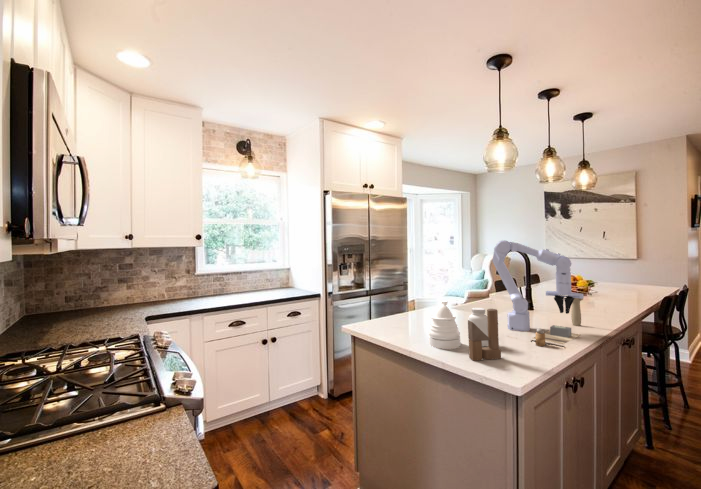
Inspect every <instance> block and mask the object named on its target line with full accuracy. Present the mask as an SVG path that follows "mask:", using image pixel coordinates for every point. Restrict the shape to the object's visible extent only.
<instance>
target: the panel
mask: <svg viewBox="0 0 701 489" xmlns="http://www.w3.org/2000/svg"><path fill="white" fill-rule="evenodd" d="M544 333H545V345H549V346H550V345H551V346H554V347H555V346H556V347H561V348H565V347H566V346H565V344H566V343H569V342H571V341H573V340H574V339H576V338H578V337H580V336H581V334H580V333H579V334H578V333H573V332H571V333H572V336H571V337H569V338H567V337H561V336H554V335H550V330H548V331H546V332H544ZM531 342H535V343H536V336H533V337H532V339H531Z"/></svg>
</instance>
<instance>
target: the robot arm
mask: <svg viewBox="0 0 701 489" xmlns="http://www.w3.org/2000/svg"><path fill="white" fill-rule="evenodd" d="M509 252H513V253H514V252H520V253H523V254H526V255H529V256H532V257H535V258H536V259H537V261H538V262H541V263H544V264H546V265H550V266H555V267H556V268H555V270H556V272H555V285H556V286H555V287H556V288H555V291H554V290H546V291H545V296H547V297H548V296H549V297H553V299H554V301H555V303H556V305H557V307H558V309H559V313H560V314H563V313H565V314H567V315H568V314H570V310H571V308H572V302H573V301H574V298H580V299H582V298H583V299H584V293H580V292H579V293H578V292H572V272H571V266H572V261H571V259H570V258H569V257H567V256H566V255H563V254H562V255H561V253H556V252H553V251H550V249H549V248H546V249H543V248H542V249H539V250H537V249H535V248H532V247H530V246H527V245H525V244H522V243H518V242H514V241H508V240H503V239H502V240H499V241H497V243H496V244H495V246H494V248H493V255H492V263H493V265H494V268H495V269H496V271H497V273H498V276H499V277H500V279H501V281H502V284H503V285H504V287H505V289H506V290H507V293H508V295H509V297H510V300H511V302H512V308H513V310H512V311H511V312H507V330H509V331H521V332H529V331H530V330H531V324H530V323H531V322H530V321H531V319H530V311H529V302H528V300H527V299H526V298H525V297H524V296H523V295H522V293H521V291H520V290H519V288H518V286H517V285H516V284H517V283H515V280H514V278H513V277H512V275H511V272H510V271H509V269H508V266H507V265H506V263H505V259H506V257H507V255H508V254H509ZM564 306H565V307H564ZM564 309H565V310H564Z"/></svg>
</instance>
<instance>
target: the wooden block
mask: <svg viewBox="0 0 701 489" xmlns="http://www.w3.org/2000/svg"><path fill="white" fill-rule="evenodd" d="M498 311H499V310H498V309H497V308H487V309H486V316H487V322H488V336H487V335H485V334H484V333H483V332H482V331H481V330H480V329H479V328H478V327H477V326H476V325H475V324H474V323H473V322H471V321H469V319H467V336H468V355H469V356H468V357H469V358H468V359H470V360H472V362H473V361H474V362H476V361H478V362H479V361H483V360H485V361H486V360H487V361H489V360H490V361H491V360H501V359H502V350H501V348H500V344H499V343H500V342H499V341H500V340H499V339H500V338H499V315H498V314H499V313H498ZM485 340H488V346H483V347H482V341H485Z"/></svg>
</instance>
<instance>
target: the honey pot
mask: <svg viewBox="0 0 701 489" xmlns="http://www.w3.org/2000/svg"><path fill="white" fill-rule="evenodd" d="M440 303H441V305H440V306H439V307H438V308H437V309H436V311H435V313H434V314H433V315H431V317H430V318H431V319H432V322H431V323H430V327H429V328H430V329H429V330H428V343H429V344H430V345H431V346H430V345H429V344H428V345H429V346H430V347H432V346H433V347H432V348H435V347H436V348H435V349H440V348H442V349H441V350H454V349H457V347H458V348H460V347H461V332H460V331H459V327H458V324H457V322H456V316H455V315H453V313H452V311H451V309H449V308H448V307H449V306H447V305H448V301H447V300H441V302H440ZM459 346H460V347H459ZM451 348H452V349H451ZM453 348H454V349H453Z"/></svg>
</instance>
